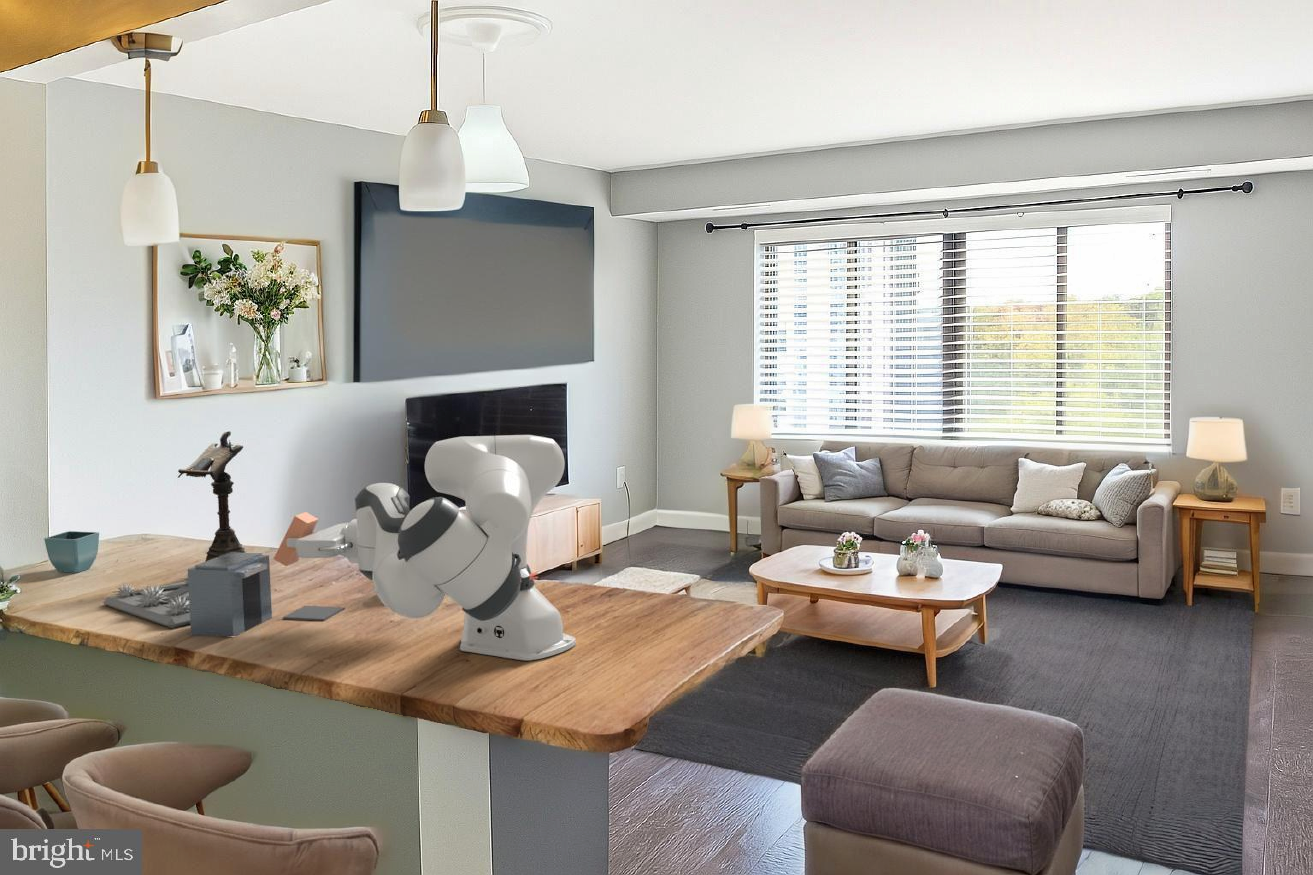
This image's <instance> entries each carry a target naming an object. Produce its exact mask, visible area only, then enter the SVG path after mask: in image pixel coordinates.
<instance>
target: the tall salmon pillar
mask: <svg viewBox="0 0 1313 875" xmlns="http://www.w3.org/2000/svg"><path fill="white" fill-rule="evenodd" d="M318 522H319V518H317V517H315V516H314V515H312V514H311V513H309V512H307V511H304V512H302V513H299V514H296V515H294V517H293V519H292V520H291V523H290V525H289V527H288V529H287V531H286V533H285V535H284V536H283V540H282V541H281V543H280V544H279V547H278V549H277V551H276V553H275V555H274V557H273V560H274V561H276V562H278V563H280V564H281V565H283V566H284V567H288V566H291V565H292V564H295V563H297V562H298V561H299V560H300V557H298V556H297V553H296V548H295V547H287V539H288V538H290V537H298V538H303V537H305V536H308V535H311V534H312V532H314V529H315V528H316V526H317V524H318Z"/></svg>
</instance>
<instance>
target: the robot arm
mask: <svg viewBox="0 0 1313 875" xmlns="http://www.w3.org/2000/svg"><path fill="white" fill-rule="evenodd" d="M424 460H425V461H424V472H425V476H426V479H427V482H428V483H429V484H430V486H431V488H433V489H434V490H435V491H436V492H437V493H441V494H446V495H450V496H454V497H456V498H459V499H460V500H461V499H462V500H463V501H464V502H465V511H466V514H464V513H463V512H461V511H460V507H459V506H457V505H456V504H455V503H453V502H452V501H451V500H449V499H447V498H445V497H443V496H436V497H430V498H428V499H427V500H425V501H423V502H420V503H419V504H417V505H416V506H415V507H413V508H411V509H410V498H411V497H410V495H409V493H408V492H407V491H406V490H405V489H404V488H403V487H401V486H400V485H398V484H394V483H389V482H378V483H377V482H376V483H372V484H368V485H366V486H365V487H363V488H362V489H361V490H360V491H359V493H357V494H356V496H355V498H354V502H355V504H354V505H355V512H356V518H353V519H352V520H350V522H343V523H338V524H337V523H336V524H335V525H332V526H330V527H327V528H324V529H321V530H316V531H314V530H313V532H312V534H311V535H308V536H305V537H303V538H298V537H290V538H288V539H287V547H295V548H296V553H297V556H298V557H300V558H301V559H327V558H328V559H330V558H336V557H338V556H340V555H341V556H343V557H346V559H347V560H348V562H349V563H351V564H357V566H358V571H359V572H360V573H361V574H362V575H363V576H365V577H366V578H367V579H368V580H370V581H372V584H373V589H374V592H375V594H376V596H377V597H378V599H379V600H380V601H381V603H383V605H384V606H385V607H386V608H388V609H389V610H390V611H391V612H393V613H395V614H397V615H399V616H401V617H404V618H407V619H421V618H425V617H428V616H429V615H431V614H432V613H434V612H435V611H437V610H438V609H439V607H441V604H442V602H443V601H444V599H445V596H447V597H448V598H449V599H451V600H452V601H453V602H454V603H456V604H457V605H458V606H460V607H461V609H462V611H463V612H464V620H463V631H462V633H461V634H462V635H461V639H460V646H459V650H460V651H461V652H462V651H463V652H466V653H467V652H468V653H474V654H481V655H486V656H487V655H488V656H494V657H499V658H500V657H501V658H505V659H510V660H511V659H514V660H518V661H533V660H534V661H535V660H540V659H544V658H548V657H551V656H554V655H557V654H561V653H563V652H566V651H567V650H569V649H572V648H573V647H574V646H575V645H576V643H577V642H576V637H574V636H572V635H569V634H566V633H564V627H563V621H562V616H561V613H560V611H559V609H557V608H556V607H555V606H554V605H553V604H552V603H551V602H550V601H549V600H548V598H546V597H545V596H544V595H543V594H542V593H541V592H540V591H539V590H538V589H537V588H536V586H535V579H538V578H539V576H536V575H538V574H539V572H538V571H537V572H532V571H531V568H530V565H529V564H528V560H527V559H528V558H527V557H528V554H527V553H528V550H527V549H528V548H527V547H528V533H529V532H528V531H529V526H530V525H529V524H530V520H531V518H532V515H533V513H534V511H535V509H536V507H537V505H538V504H539V503H540V502H541V500H543V498H544V497H545V496H546V495H547V494H548V493H549V492H551V490H553V489H554V488H556V486H558V484H559V483H560V481H561V479H562V478H563V475H564V471H565V457H564V453H563V450H562V449H561V447H560V445H559V444H558V443H557V442H556V441H555V440H554V439H553V438H550V437H545V436H540V435H539V436H538V435H533V434H514V435H513V434H511V435H508V434H507V435H480V436H479V435H476V436H458V437H457V436H456V437H452V438H447V439H442V440H438V441H435V442H434V443H433V444H432V445H431V447H430V448H429V449H428V452H427V453H426V456H425V459H424ZM300 558H299V559H300Z"/></svg>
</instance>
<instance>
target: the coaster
mask: <svg viewBox="0 0 1313 875" xmlns="http://www.w3.org/2000/svg"><path fill="white" fill-rule="evenodd" d="M343 611H345V607H344V606H343V607H342V606H322V605H321V606H320V605H303V606H302V607H299V608H297V609H296V610H294V611H291V612H290V613H289V614H286V615H284V616H283V617H282V619H283V620H296V621H314V622H315V621H318V622H319V621H321V622H324V621H327V620H328V619H330V618H332V617H334V616H335V615H337V614H339V613H341V612H343Z"/></svg>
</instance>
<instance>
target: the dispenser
mask: <svg viewBox="0 0 1313 875" xmlns="http://www.w3.org/2000/svg"><path fill="white" fill-rule="evenodd" d="M270 568H271V567H270V555H269V554H268V555H267V554H263V553H261V552H245V553H238V552H230V553H227V554H224V555H222V556H219V557H216V558H214V559H211V560H208V561H206V562H205V561H203V562H201V563H198V564H196V565H195V566H193V567H190V568H188V569H187V579H188V580H187V581H188V588H189V606H190V624H189V625H190V636H199V637H200V636H203V637H219V636H235V637H237V636H239V635H241V634H242V632H243V633H244V631H245V632H247V631H248V630H251V629H253V628H255V627H256V625H257V626H258V625H260V624H262V623H264V622H265V621H267V620H270V619H272V618H273V612H272V611H273V610H272V609H273V608H272V590H271V569H270ZM254 626H255V627H254ZM240 633H241V634H240ZM238 634H239V635H238ZM236 635H237V636H236Z"/></svg>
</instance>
